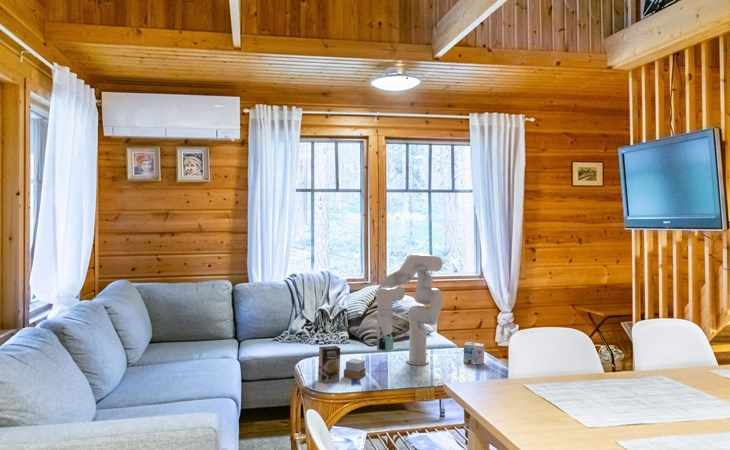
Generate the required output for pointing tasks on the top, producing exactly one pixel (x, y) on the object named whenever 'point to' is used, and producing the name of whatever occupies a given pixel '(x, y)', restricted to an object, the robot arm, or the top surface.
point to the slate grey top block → (355, 365)
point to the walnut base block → (354, 374)
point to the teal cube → (386, 344)
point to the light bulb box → (473, 353)
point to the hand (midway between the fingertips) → (385, 347)
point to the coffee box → (329, 364)
